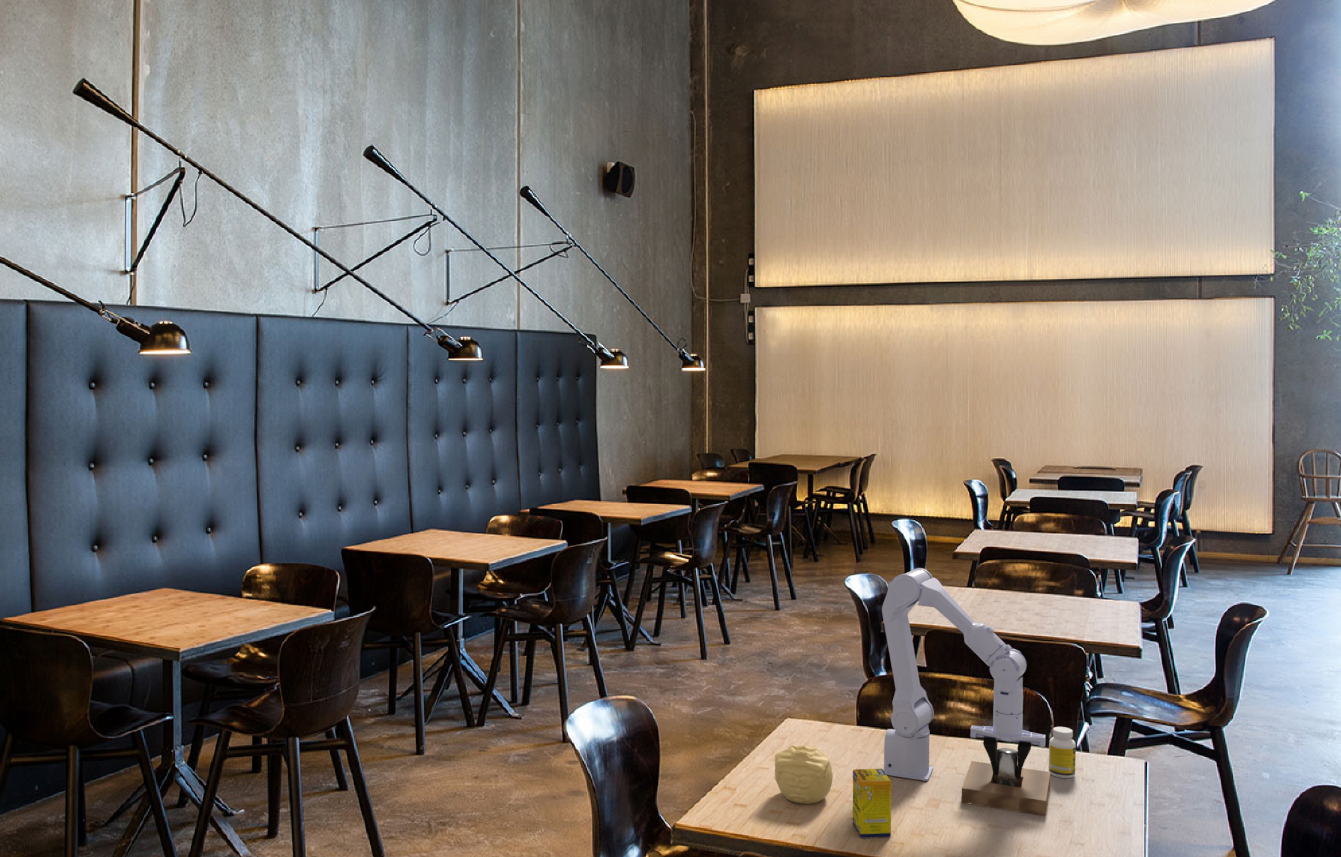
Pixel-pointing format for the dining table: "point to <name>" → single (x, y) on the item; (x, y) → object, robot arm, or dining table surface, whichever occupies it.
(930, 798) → the dining table surface
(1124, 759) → the dining table surface
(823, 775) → the sculpture
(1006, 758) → the steel pin
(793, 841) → the dining table surface
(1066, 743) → the supplement bottle
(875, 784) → the supplement box
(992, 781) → the socket block
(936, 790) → the dining table surface
